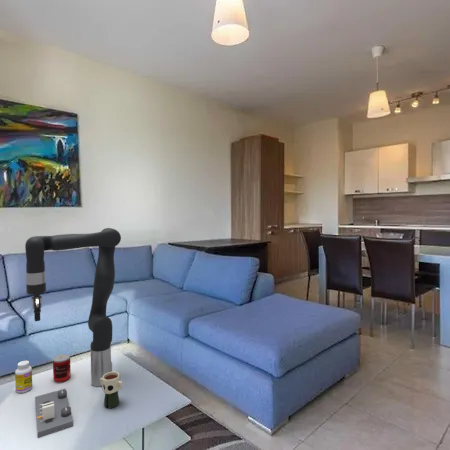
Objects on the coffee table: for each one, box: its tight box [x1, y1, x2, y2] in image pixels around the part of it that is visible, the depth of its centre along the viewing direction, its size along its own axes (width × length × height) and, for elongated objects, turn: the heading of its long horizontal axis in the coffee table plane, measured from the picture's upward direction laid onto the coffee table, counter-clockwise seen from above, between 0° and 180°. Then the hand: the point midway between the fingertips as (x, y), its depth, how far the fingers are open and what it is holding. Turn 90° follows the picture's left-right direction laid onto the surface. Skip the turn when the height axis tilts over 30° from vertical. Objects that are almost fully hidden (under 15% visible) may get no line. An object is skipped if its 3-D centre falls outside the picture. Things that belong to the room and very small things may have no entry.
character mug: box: [100, 370, 123, 409], centre depth 140 cm, size 11×7×13 cm, turn 73°
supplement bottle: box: [14, 360, 33, 394], centre depth 150 cm, size 7×7×13 cm
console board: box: [34, 388, 74, 438], centre depth 134 cm, size 12×26×4 cm, turn 32°
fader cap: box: [42, 401, 55, 421], centre depth 128 cm, size 4×3×5 cm
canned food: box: [52, 353, 72, 384], centre depth 160 cm, size 8×8×11 cm
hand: (37, 320), depth 143 cm, fingers closed
